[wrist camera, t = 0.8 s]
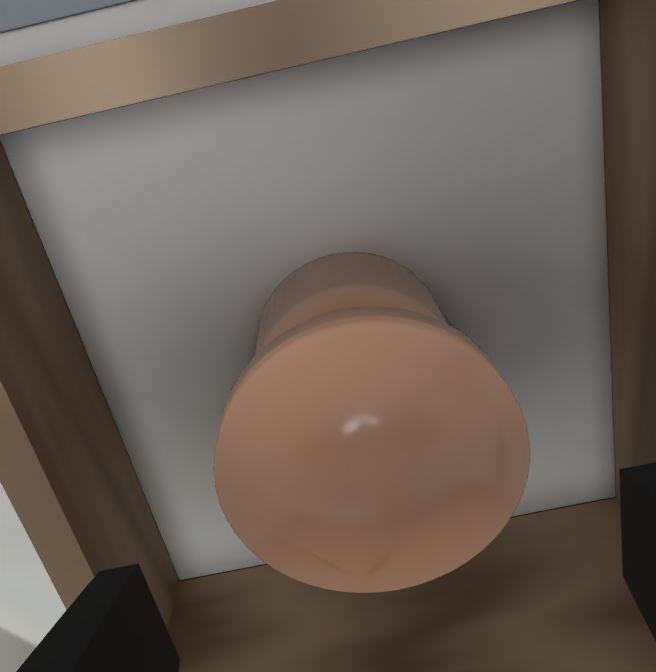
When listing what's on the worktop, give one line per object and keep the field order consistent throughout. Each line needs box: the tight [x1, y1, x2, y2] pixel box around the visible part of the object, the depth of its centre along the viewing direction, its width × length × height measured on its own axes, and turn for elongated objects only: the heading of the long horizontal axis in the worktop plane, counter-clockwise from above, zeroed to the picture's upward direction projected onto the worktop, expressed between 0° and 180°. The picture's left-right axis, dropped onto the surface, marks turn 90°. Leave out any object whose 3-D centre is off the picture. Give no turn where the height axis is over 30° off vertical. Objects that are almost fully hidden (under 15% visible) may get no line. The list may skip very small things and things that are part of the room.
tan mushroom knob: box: [214, 252, 530, 593], centre depth 14 cm, size 6×6×6 cm
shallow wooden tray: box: [0, 0, 656, 672], centre depth 14 cm, size 16×16×7 cm
